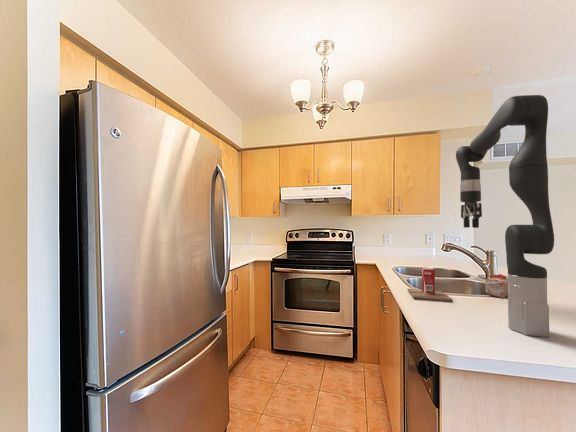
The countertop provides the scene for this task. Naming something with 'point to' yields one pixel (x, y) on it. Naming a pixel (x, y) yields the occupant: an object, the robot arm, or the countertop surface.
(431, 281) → the soda can
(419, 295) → the walnut board
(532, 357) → the countertop surface
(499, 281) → the food item
